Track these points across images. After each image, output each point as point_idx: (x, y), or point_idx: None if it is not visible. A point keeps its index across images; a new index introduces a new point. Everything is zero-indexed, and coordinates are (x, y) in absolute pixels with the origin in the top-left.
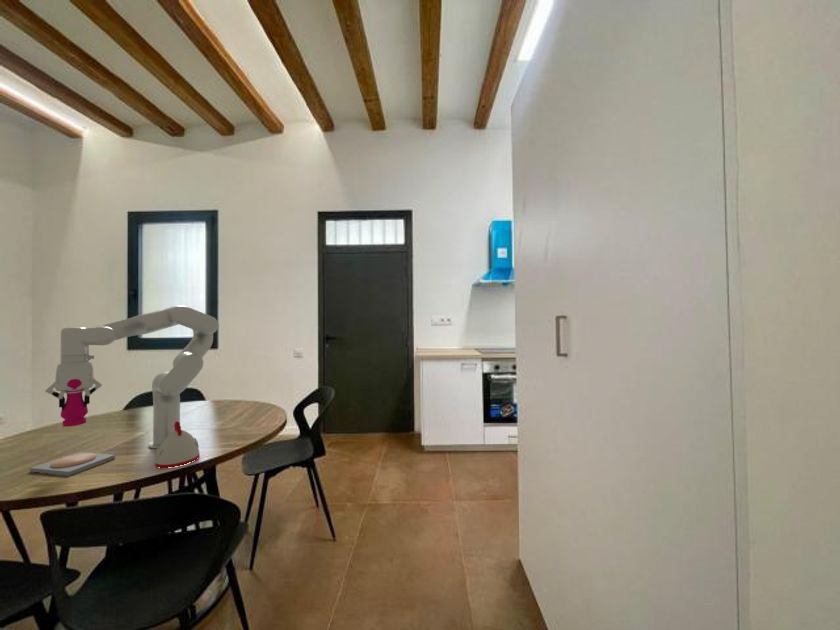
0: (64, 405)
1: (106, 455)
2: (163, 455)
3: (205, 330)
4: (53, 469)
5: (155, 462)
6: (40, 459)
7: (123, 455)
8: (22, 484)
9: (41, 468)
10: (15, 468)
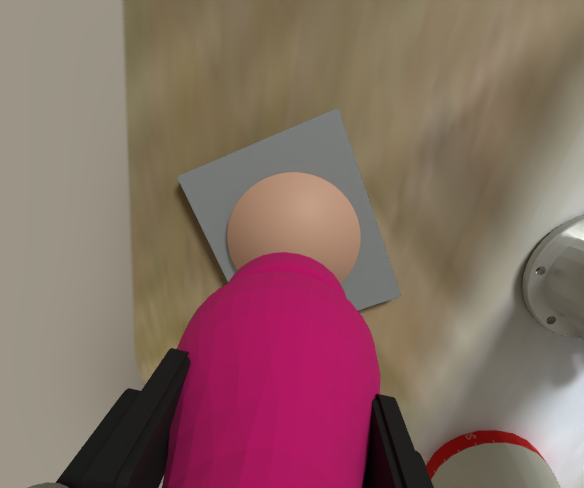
0: (164, 473)
1: (381, 275)
2: None
3: None
4: (230, 275)
5: (431, 480)
6: (223, 3)
7: (428, 277)
8: (162, 293)
9: (204, 225)
10: (146, 62)
